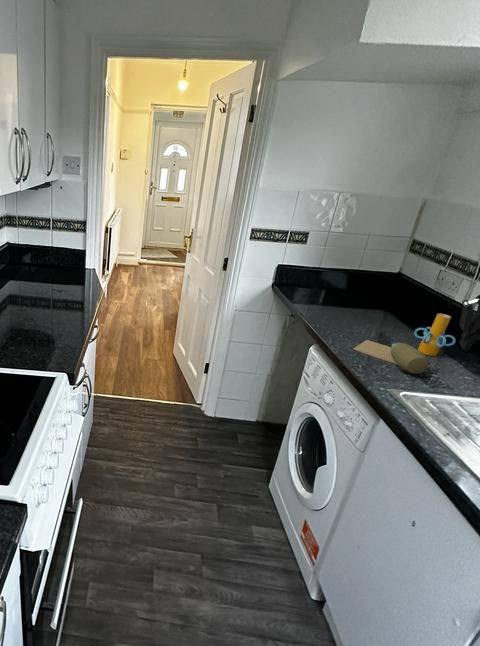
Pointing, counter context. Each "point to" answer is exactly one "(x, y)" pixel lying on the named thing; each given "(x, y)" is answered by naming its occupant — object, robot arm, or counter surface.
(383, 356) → the cork mat
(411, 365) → the squeeze bottle
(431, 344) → the orange cylinder with loops
